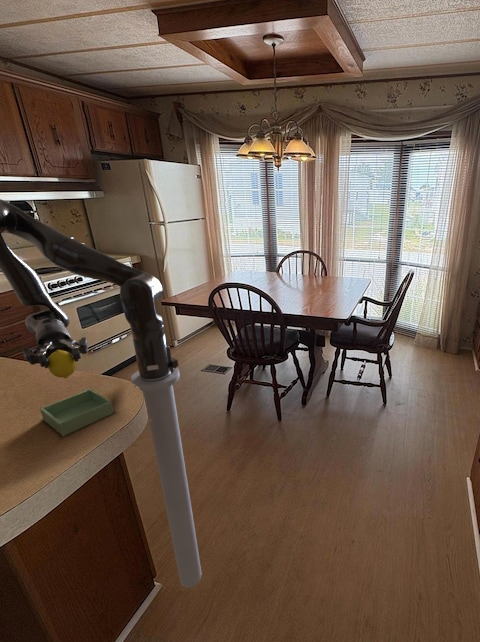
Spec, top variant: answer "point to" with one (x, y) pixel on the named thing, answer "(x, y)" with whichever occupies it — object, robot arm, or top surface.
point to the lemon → (61, 364)
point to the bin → (76, 411)
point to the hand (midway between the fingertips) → (61, 361)
